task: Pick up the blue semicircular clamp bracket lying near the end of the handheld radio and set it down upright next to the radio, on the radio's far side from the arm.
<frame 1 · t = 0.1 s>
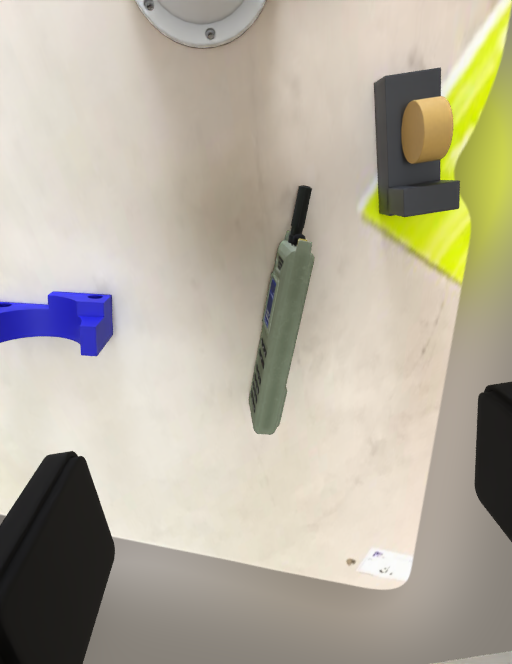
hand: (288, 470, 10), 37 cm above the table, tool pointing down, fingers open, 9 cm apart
blue semicircular clamp bracket: (55, 311, 46), on the table
tape dispenser: (401, 147, 42), on the table
handheld radio: (279, 303, 47), on the table
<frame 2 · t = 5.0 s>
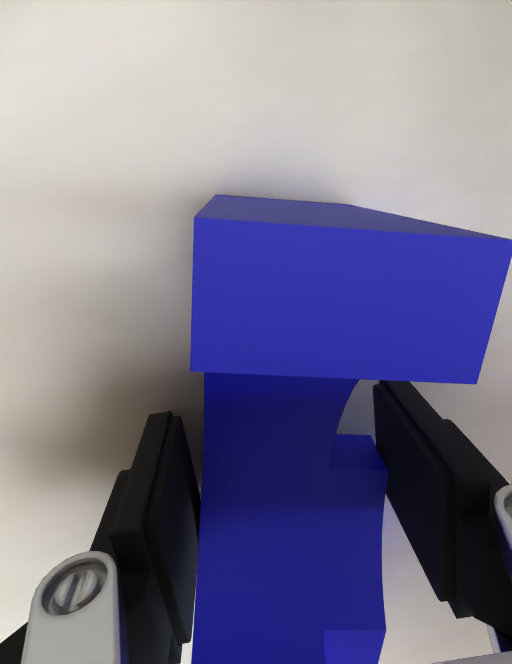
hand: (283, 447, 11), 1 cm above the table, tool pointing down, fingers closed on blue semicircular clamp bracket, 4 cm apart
blue semicircular clamp bracket: (288, 428, 12), on the table, touching gripper
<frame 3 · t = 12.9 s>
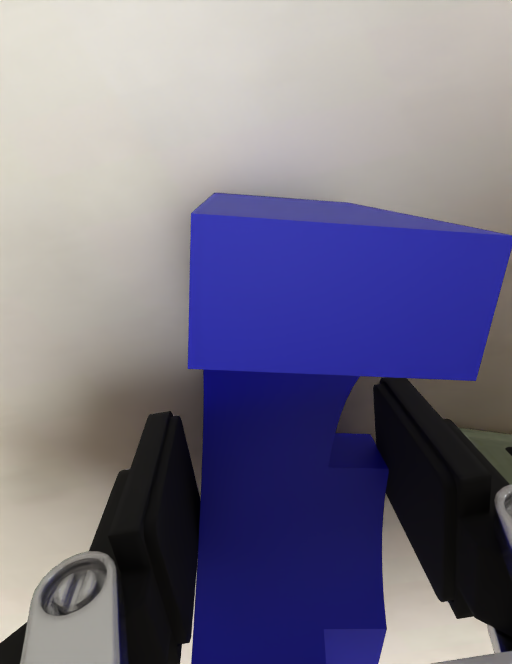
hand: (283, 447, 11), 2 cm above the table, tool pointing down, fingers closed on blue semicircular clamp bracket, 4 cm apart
blue semicircular clamp bracket: (288, 427, 12), point 1 cm above the table, touching gripper
when the fingers open (2 cm above the table, at t = 12.9 s): blue semicircular clamp bracket stays where it is, on the table.
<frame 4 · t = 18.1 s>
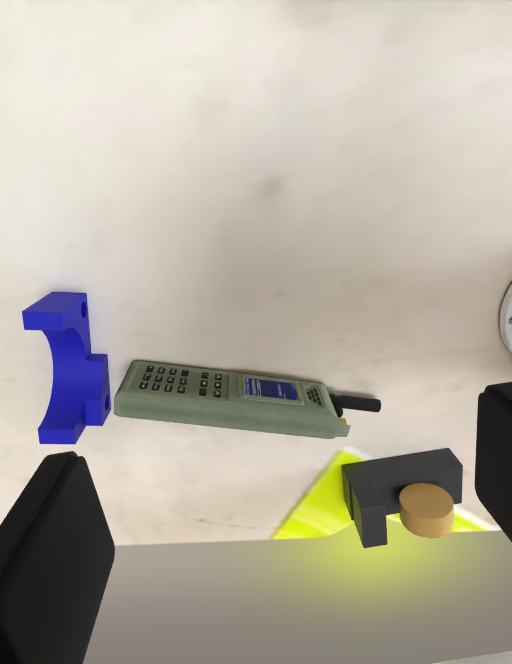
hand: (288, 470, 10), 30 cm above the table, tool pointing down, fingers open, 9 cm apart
blue semicircular clamp bracket: (83, 353, 41), on the table
tape dispenser: (395, 474, 48), on the table
handheld radio: (256, 384, 43), on the table
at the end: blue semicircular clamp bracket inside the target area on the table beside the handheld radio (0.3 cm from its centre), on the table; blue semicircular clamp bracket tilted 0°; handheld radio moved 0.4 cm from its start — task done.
